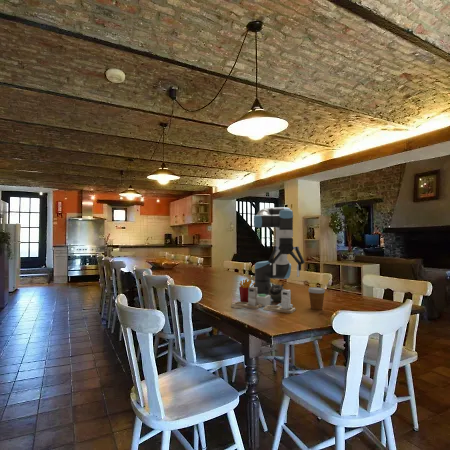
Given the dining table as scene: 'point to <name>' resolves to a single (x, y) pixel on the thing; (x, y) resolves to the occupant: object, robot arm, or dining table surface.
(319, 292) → the disposable coffee cup
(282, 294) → the block
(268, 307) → the pallet
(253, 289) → the pallet
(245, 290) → the french fries
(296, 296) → the dining table surface
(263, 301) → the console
